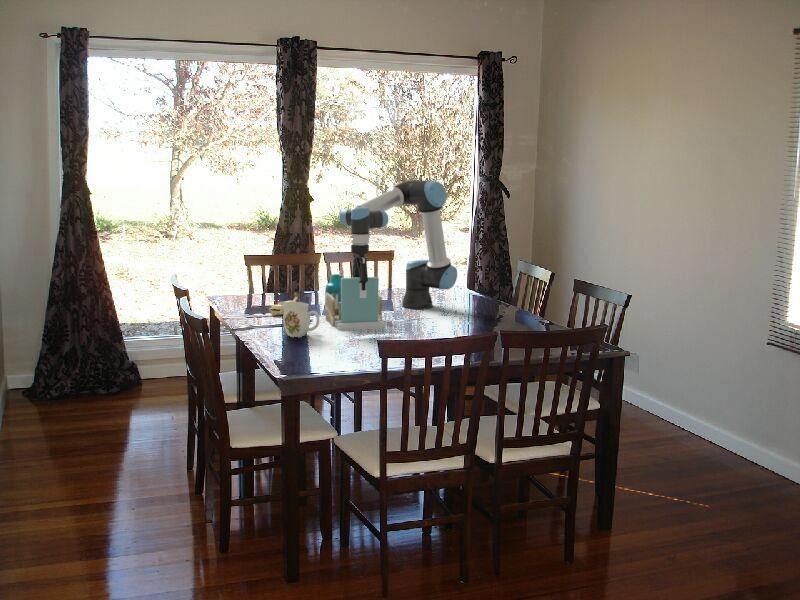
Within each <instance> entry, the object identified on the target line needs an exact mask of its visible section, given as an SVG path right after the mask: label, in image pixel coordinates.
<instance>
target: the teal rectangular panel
mask: <svg viewBox="0 0 800 600" xmlns="http://www.w3.org/2000/svg"><path fill="white" fill-rule="evenodd" d="M379 280H380V279H379V276H368V282H367V283H366V298H360V283H359V281H360V277H358V278H353V277H342V278H341V323H355V322H376V321H378V295H379Z"/></svg>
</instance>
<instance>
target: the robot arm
mask: <svg viewBox="0 0 800 600" xmlns="http://www.w3.org/2000/svg"><path fill="white" fill-rule="evenodd" d="M446 199H447V192H446V189H445V186H444V185H443V184H442V183H441V182H439V181H437V180H419V179H418V180H416V179H410V180H405V181H404V182H401V183H398V184H395V185H393V186H391V187H389V189H388V190H387V191H386V192H385V193H382V194H380V195H378V196H376V197H374V198H371V199H370V200H367V201H366V202H363V203H361V204H360V205H357V206H354V207H352V208H343V209H342V210H341V211H340V212H339V215H338V218H339V219H338V220H339V222H340V223H341V225H342V226H347V227H350V228H351V229H350V233H351V236H349V238H350V240H351V241H350V242H351V245H350V253H351V254H353V255H352V257H353V260H352V261H353V263H352V272H351V273H352V274H351V276H352V278H358V277H360V281H359V283H360V298H366V283H367V282H368V277H369V276H368V263H367V262H368V261H367V260H368V259H367V257H365V255H368V254H369V253H370V245H369V243H370V230H373V229H381V228H385V227H386V226H388V223H389V215H388V213H387V212H386V211H388V210H390V209H393V208H394V207H396V208H399V207H401V206H404V205H406V206H407V205H411V206H416V207H417V212H418V213H420V214H421V216H422V217H421V218H422V223H423V224H422V225H423V230H424V236H425V242H426V243H425V244H426V248H427V255H428V256H427V257H428V259H421V260H420V259H419V260H411V261H408V262H407V263H406V266H405V267H406V269H405V293H404V295H403V299H402V302H401V306H402V307H403V308H405V307H406V309H411V308H414V310H425V309H424V308H426V309H431V308H432V307H433V299H432V296H431V292H430V288H432V289H439V290H446V291H447V290H450V289H452V288H453V287H454V286H455V285H456V281H457V279H458V270H457V267H455V266H453V265H452V263H451V262H452V261H451V259H450V258H448V257H447V250H446V243H445V235H444V230H443V224H442V223H443V222H442V216H441V211H442V209H443V206H444V205H445V203H446ZM430 307H431V308H430Z"/></svg>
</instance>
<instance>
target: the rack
mask: <svg viewBox="0 0 800 600" xmlns="http://www.w3.org/2000/svg"><path fill="white" fill-rule="evenodd" d="M378 319H381V321H383V297H382V295H379V294H378ZM325 321H326V322H328V323H329V324H330V325H331V326H332V327H335V321H339V316H336V314H335V299H334V298H333V297H332V296H331V295H330V294H329V293H326V306H325Z"/></svg>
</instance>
